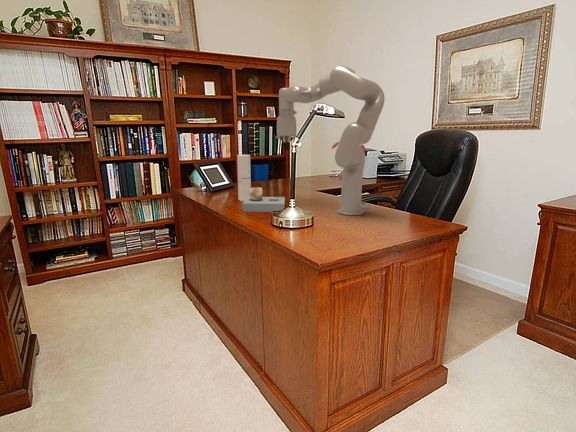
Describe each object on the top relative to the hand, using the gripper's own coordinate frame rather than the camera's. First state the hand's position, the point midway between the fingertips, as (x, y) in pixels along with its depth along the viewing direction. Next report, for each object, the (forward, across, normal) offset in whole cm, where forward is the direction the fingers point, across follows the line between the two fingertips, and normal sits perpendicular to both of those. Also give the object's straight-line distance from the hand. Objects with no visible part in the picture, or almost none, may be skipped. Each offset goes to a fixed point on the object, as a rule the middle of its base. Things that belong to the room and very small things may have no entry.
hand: (286, 150), depth 182 cm
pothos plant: (+28, -48, -92) cm, 108 cm away
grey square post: (+28, +24, -10) cm, 38 cm away
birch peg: (+28, +16, +11) cm, 34 cm away
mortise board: (+28, +11, +11) cm, 33 cm away
